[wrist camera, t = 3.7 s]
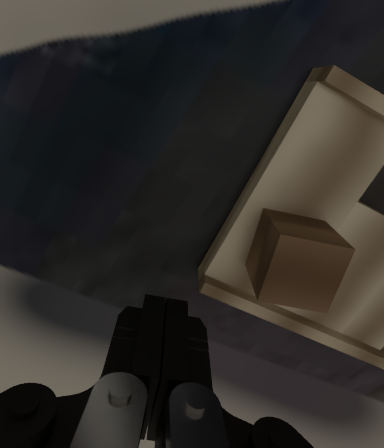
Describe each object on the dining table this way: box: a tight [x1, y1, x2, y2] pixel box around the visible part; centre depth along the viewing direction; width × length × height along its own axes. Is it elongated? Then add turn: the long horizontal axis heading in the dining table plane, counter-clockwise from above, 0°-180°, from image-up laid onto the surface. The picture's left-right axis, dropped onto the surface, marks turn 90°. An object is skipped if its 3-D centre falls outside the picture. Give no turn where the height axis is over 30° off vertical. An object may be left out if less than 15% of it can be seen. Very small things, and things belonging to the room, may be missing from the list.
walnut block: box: [245, 208, 356, 314], centre depth 19 cm, size 4×4×4 cm
